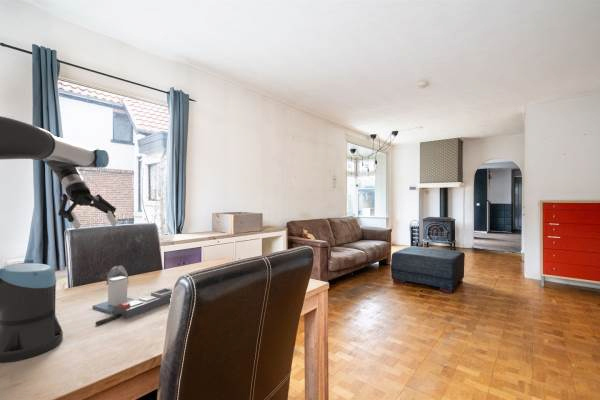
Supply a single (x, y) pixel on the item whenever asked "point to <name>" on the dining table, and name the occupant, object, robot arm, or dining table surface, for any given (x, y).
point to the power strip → (140, 305)
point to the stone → (117, 272)
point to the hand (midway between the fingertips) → (97, 225)
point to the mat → (107, 306)
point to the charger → (117, 290)
